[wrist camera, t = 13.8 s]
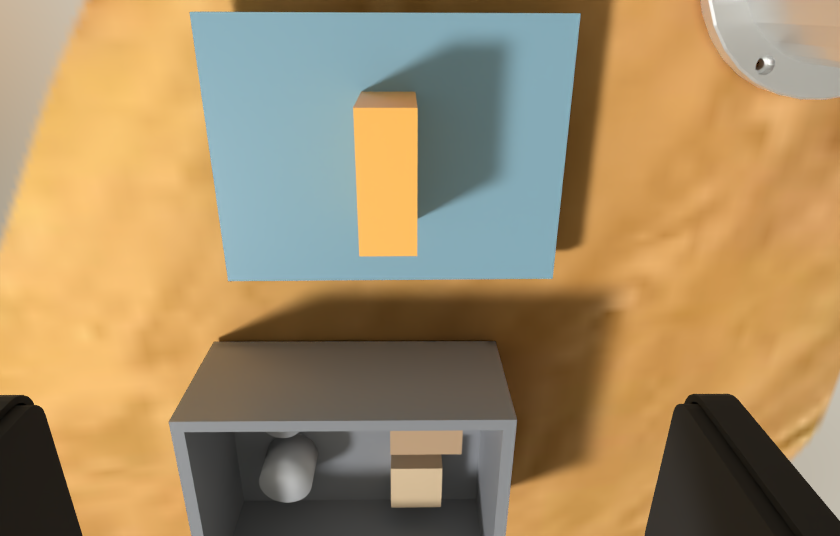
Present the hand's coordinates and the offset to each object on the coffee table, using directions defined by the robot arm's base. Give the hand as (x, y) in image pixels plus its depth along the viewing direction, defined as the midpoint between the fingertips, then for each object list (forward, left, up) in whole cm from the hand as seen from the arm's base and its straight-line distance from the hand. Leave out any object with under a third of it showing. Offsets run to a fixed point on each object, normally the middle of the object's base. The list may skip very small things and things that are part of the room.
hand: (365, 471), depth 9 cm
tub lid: (0, 0, -22) cm, 22 cm away
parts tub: (+2, +17, -22) cm, 28 cm away
